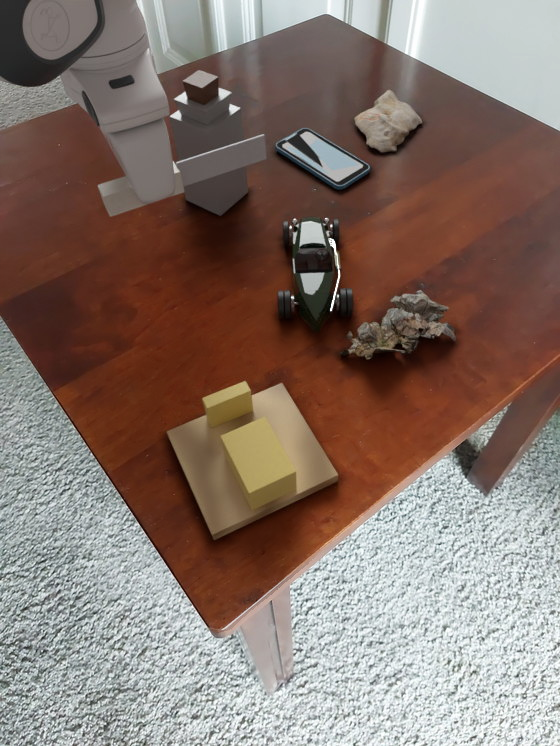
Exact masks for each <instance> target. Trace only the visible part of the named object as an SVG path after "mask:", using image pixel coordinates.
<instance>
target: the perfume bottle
mask: <svg viewBox="0 0 560 746" xmlns="http://www.w3.org/2000/svg"><path fill="white" fill-rule="evenodd" d="M182 84H183V88H184V91H183V92H182V93H181V94H179V95H177V96H176V97H175V98H173V101H174V103H175V105H176V107H177V109H178V110H177V111H175V112H174V113H172V114H171V115H168V116H169V121H170V127H171V131H172V137H173V141H174V147H175V152H176V157H177V162H178V161H182V160H185V159H188V158H191V157H194V156H197V155H200V154H203V153H206V152H209V151H213V150H216V149H219V148H222V147H225V146H228V145H231V144H234V143H237V142H241V141H244V140H245V138H244V128H243V118H242V108H241V107H240V106H237V105H234V104H232V103H231V101H232V94H233V92H232V91H229V90H226V89H223V88H221V87H219V76H217V75H216V74H215V75H214V74H212V73H209V72H206V71H203V70H200V69H198V70H196V71H195V72H194V73H191V75H188V76H187V77H186V78H184V79H183V80H182ZM248 183H249V181H248V172H247V166H244V167H241V168H238V169H235V170H232V171H229V172H226V173H223V174H220V175H217V176H214V177H211V178H208V179H205V180H202V181H199V182H196V183H193V184H190V185H187V186H184V192H183V193H184V198H185V200H186V201H187V202H189V203H192V204H194V205H195V206H198V207H200V208H202V209H204V210H206V211H209V212H211V213H212V214H215V215H218V216H219V217H222V216H223V215H224V214H225V213H226V212H227V211H228V210H229V209H231V208H232V207H233V206H234V205H235V204H236V203H237V202H239V201H240V200H241V199H242V198H244V196H246V195H247V194H248V193H249V184H248Z"/></svg>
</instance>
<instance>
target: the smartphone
mask: <svg viewBox="0 0 560 746" xmlns="http://www.w3.org/2000/svg"><path fill="white" fill-rule="evenodd" d="M275 150H276V152H278V153H279V154H281V155H283V156H284V157H286V159H289V160H290V161H292V162H293V163H295V164H297V165H298V166H299V167H301V168H303V169H304V170H305V171H307V172H309V173H311V174H312V175H313V176H315V177H317V178H318V179H320V180H321V181H323V182H324V183H326V184H327V185H328V186H330V187H332V188H333V189H335V190H338V191H339V190H344V189H346V188H347V187H349V186H351V185H353V183H355V182H358V181H359V180H360V179H361V178H363V177H365V176H366V175H368V174H369V173H370V171H371V166H370V164H369V163H367V162H366V161H364V160H362V159H361V158H359V157H357V156H355V155H354V154H353V153H350V152H348V151H347V150H345V149H344V148H342V147H340V146H339V145H337V144H335V142H333V141H330V140H329V139H327V138H325V137H324V136H322V135H320V133H317V132H316V131H314V130H312V129H311V128H308V127H302V128H300V129H298V130H296V131H294V132H293V133H291V134H289V135H287V136H286V137H284V138H282V139H280V140H279V141H276V142H275Z"/></svg>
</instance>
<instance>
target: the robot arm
mask: <svg viewBox="0 0 560 746" xmlns="http://www.w3.org/2000/svg"><path fill="white" fill-rule="evenodd" d="M148 32H149V31H148V27H147V23H146V20H145V17H144V15H143V13H142V11H141V9H140V7H139V4H138V1H137V0H0V82H3V83H7V84H11V85H13V86H14V85H15V86H19V87H23V88H37V87H41V86H44V85H45V86H46V85H47V84H49V83H51V82H53V81H54V80H56V79H57V78H59V77H60V80H61V83H62V86H63V88H64V91H65V94H66V96H67V97H68V98H69V99H70V100H71V101H73V102H75V104H76V103H77V104H78V105H79V106H80V108H81V109H83V110H84V111H85V112H86V113H87V114H88V115H89V116H90V117H91V118H92V120H93V121H94V123H95V124H96V126H97V127H98V128H99V130H100V131H101V133H102V136H103V137H104V139H105V141H106V142H107V144H108V146H109V148H110V150H111V152H112V154H113V155H114V157H115V159H116V161H117V163H118V164H119V166H120V168H121V169H122V172H123V173H124V176H126V177H127V179H128V181H129V182H130V184H131V186H132V188H133V190H134V191H135V194H136V196H137V198H138V200H139V201H140V202H141V203H142V204H148V205H150V203H151V204H153V203H157V202H159V201H163V200H165V199H168V198H172V197H173V196H172V195H173V194H174V191H175V174H174V167H173V161H174V160H173V154H172V153H173V152H172V147H171V146H172V145H171V140H170V136H169V130H168V127H167V123H166V121H165V117H168V116H170V113H171V112H170V105H169V100H168V97H167V94H166V92H165V89H164V86H163V84H162V81H161V80H160V77H159V75H158V73H157V68H156V62H155V59H154V53H153V51H152V48H151V42H150V37H149V33H148Z"/></svg>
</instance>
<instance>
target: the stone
mask: <svg viewBox="0 0 560 746" xmlns="http://www.w3.org/2000/svg"><path fill="white" fill-rule="evenodd" d="M353 120H354V122H355V123H354V125H355V126H356V127H357V128H358V129H359V131H360V132H361V133H363V134H364V135H365V137H366V143H365V144H366V145H367V146H369V147H370V149H376V150H377V151H379V152H380V153H388V152H397V150H398V148H397V146H398V145H401V144H402V143H403V142H404V141H405V138H407V136H409V133H410V131H413V130H415V129H417V126H418V125H420V124H422V123H423V120H422V118H421V117H420V116H419V115H418V113H417V112H416V111H415V110H414V109H413V107H412V106H411V105H410V104H409V103H407V102H404V101H400V100H399V99H398V97H397V96H396V94H395V93H394V91H392V90H390V89H388V90H386V91H385V92H384V93H383V94H381V96H379V97H378V98H377V99H376V100H374V103H373V107H372V108H369V109H366V110H364V111H363V112H360V113H359V114H357V115H356V116H355V117H354V119H353Z"/></svg>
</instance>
